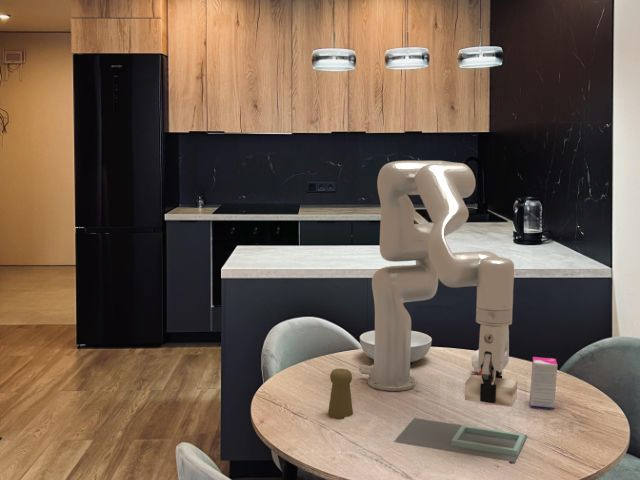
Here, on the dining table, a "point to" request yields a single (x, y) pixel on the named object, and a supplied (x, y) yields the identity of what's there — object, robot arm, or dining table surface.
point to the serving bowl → (418, 344)
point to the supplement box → (543, 383)
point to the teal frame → (486, 447)
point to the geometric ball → (475, 361)
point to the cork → (340, 394)
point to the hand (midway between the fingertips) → (490, 396)
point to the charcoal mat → (443, 433)
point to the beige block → (504, 390)
